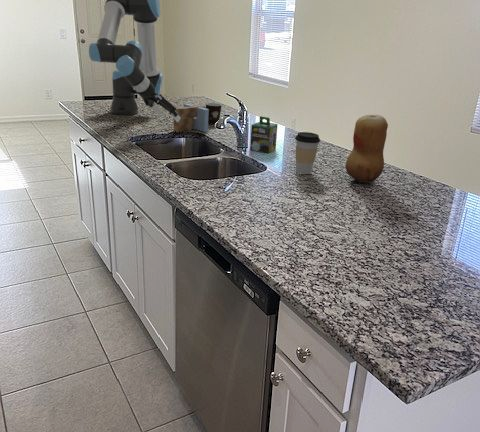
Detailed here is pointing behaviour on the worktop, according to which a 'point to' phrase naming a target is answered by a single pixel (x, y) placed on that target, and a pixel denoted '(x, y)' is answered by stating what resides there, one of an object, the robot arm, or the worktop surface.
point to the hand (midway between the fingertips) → (169, 117)
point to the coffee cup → (306, 151)
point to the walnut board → (186, 118)
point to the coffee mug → (213, 112)
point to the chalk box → (263, 136)
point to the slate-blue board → (200, 118)
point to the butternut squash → (367, 148)
